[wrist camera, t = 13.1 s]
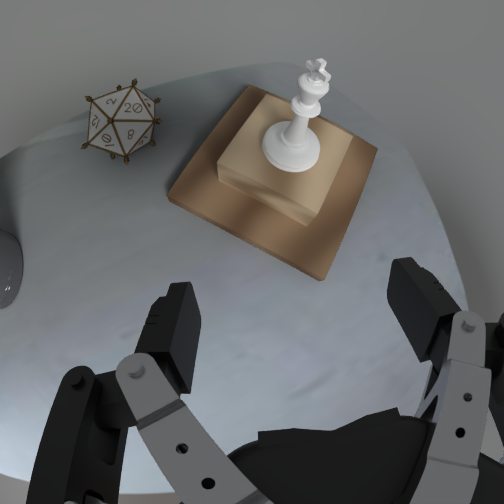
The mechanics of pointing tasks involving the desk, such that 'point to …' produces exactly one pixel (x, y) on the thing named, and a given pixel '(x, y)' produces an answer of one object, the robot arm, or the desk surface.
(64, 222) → the desk surface
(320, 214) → the walnut base
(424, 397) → the robot arm
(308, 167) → the chess piece
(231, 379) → the desk surface
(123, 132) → the game die
